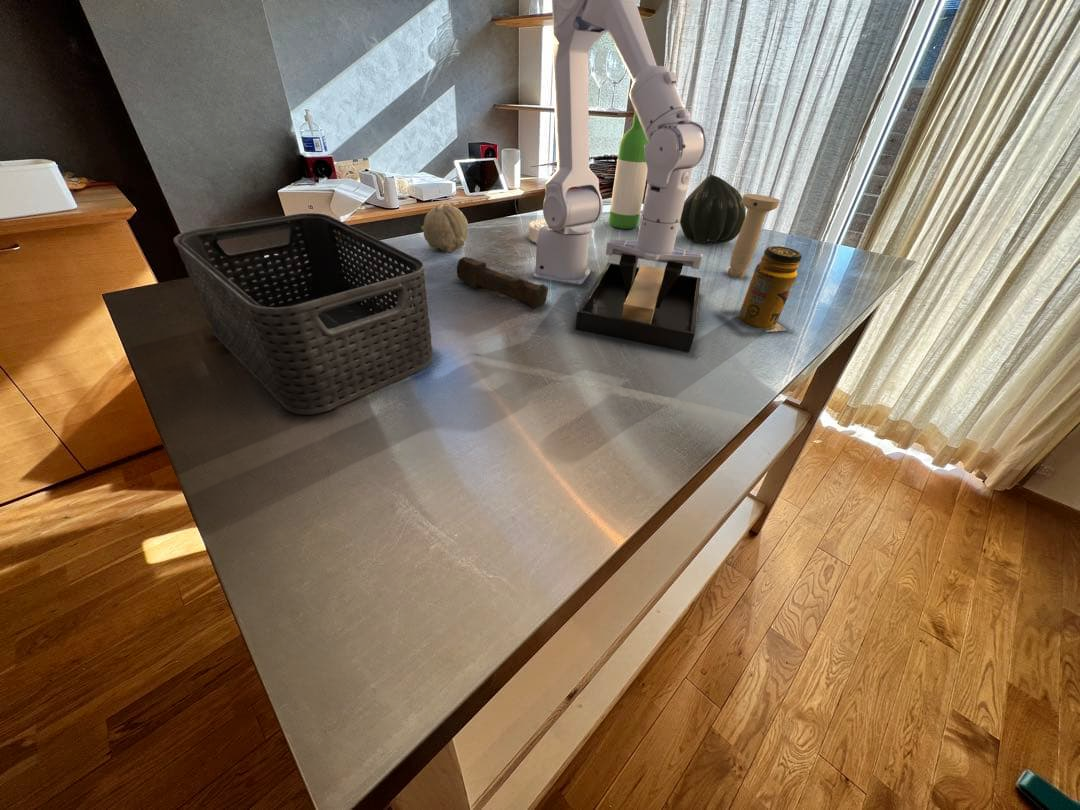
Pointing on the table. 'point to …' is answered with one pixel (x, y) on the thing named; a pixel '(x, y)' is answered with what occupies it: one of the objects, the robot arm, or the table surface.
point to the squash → (713, 212)
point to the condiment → (770, 288)
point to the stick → (643, 295)
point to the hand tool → (500, 282)
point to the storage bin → (313, 308)
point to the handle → (750, 232)
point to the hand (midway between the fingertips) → (642, 303)
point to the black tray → (666, 329)
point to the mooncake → (535, 229)
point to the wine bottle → (629, 178)
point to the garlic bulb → (445, 228)
